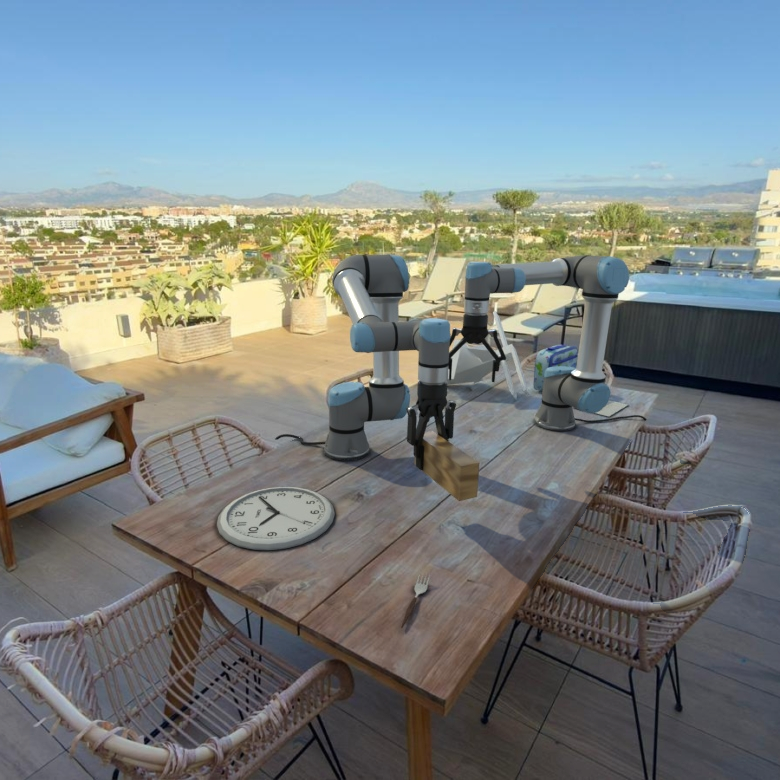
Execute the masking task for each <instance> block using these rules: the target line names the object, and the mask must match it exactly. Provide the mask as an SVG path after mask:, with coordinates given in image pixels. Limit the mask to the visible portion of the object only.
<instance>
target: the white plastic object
mask: <svg viewBox="0 0 780 780" xmlns="http://www.w3.org/2000/svg"><path fill="white" fill-rule="evenodd" d="M492 315H493V319H494V321H495V324H496V325H495V326H496V328H497V332H498V335H499V338H500V342H501V346H502V349H503V352H504V354H505V356H506V360H502V361H500V365H499V367H500V366H502V370H503V373H504V376H505V380H506V383H507V386H508V390H509V393H510V394H511V395H512V397H513V398H514V399H515V400H517V392H516V391H517V390H516V388H515V385H514V381H513V378H512V375H511V371H510V369H509V365H508V361H510V360H513V363H514V366H515V369H516V372H517V376H518V380H519V382H520V385H521V389H522V391H523V393H524V395H525V396H526V397H528V396H531V395H530V390H529V388H528V387H529V386H528V384H527V381H526V378H525V375H524V371H523V369H522V368H523V367H522V366H521V362H520V359H519V355H518V352H517V349H516V347H515V346H514V345H513V343H511V344H508V341H507V337H506V334H505V331H504V328H503V325H502V321H501V318H500V315H499V314H498V312H497V311H496V310H495V311H492ZM461 339H462V338H460V339H458V338H455V339H454V341H453V343H452V349H453V348H454V347H455V346H456V345H457V344H458V343H459V342H460V341H461ZM452 349H451V350H452ZM493 350H494V351H495V353H496V354H497V355H498V356H501V355H500V353H499V350H498V349H496V350H495V349H493ZM451 358H452V374H451V380H449V369H448V380H447V381H446V382H447V384H448V386H449V385H458V384H467V383H468V384H469V383H473V384H477V383H480V382H482V381H484V378H485V377H486V376H487V375H489V374H490V373H492V368H493V360H495V359H494V357H493V356H492V355H491V353H490V352H489V351H488V350H487V348H486V347H485V346H484V345H483V344H477V345H473V346H469V344H468V343H467V342H466V343H465V344H464V345H463V346H462V347H461V348H460V349H459V350H458V351H457V352H456V353H455V354H454V355H453V356H452V357H451Z"/></svg>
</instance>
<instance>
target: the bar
mask: <svg viewBox="0 0 780 780" xmlns="http://www.w3.org/2000/svg"><path fill="white" fill-rule="evenodd" d="M422 445H423V446H424V461H423V470H421V471H422V472H423V473H424V474H425V475H427V476H428V477H429V478H430V479H431V480H432V481H434V482H435V483H436V484H437V485H438V486H440V487H441V488H442V489H443V490H445V491H446V492H447V493H448V494H449V495H451V496H452V497H453V498H455V499H456V500H457V502H462V501H467V500H470V499H474V498H478V491H479V479H480V478H479V477H480V461H478V460H477V459H475V458H474V457H472V456H471V455H470V454H468V453H466V452H465V451H463V450H462V449H461V448H458V446H456V445H454V444H453V443H452V442H450V441H447V440H445V439H444V438H442V437H441V436H439V435H438V433H437V432H435V431H433V430H429V431H425V434H424V437H423V441H422ZM414 466H416V457H415V456H414Z"/></svg>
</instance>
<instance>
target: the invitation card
mask: <svg viewBox="0 0 780 780" xmlns="http://www.w3.org/2000/svg"><path fill="white" fill-rule="evenodd" d="M628 406H629V404H627V403H623V402H618V401H614V400H610V399H609V401H608V403H607V404H606V406H605V407H603V408H602V410H600V411H598V412H596V413H595V414H596V415H600V416H604V417H608V418H609V417H611V416H613V415H614V414H616V413H617V412H619V411H621V410H623V409H624V408H626V407H628Z"/></svg>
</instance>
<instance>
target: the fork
mask: <svg viewBox="0 0 780 780" xmlns="http://www.w3.org/2000/svg"><path fill="white" fill-rule="evenodd" d="M421 572H422V571H421V570H420V571H419V574H418V577H417V580H416V583H415V585H414V592H415V596H413V597H414V598H413V599H412V600H411V601H410V603H409V605H408V607H407V608H406V611H405V614H404V618H403V620H402V624H401V625H400V628H401V629H403V628H404V627H405V625H406V623H407V621H408V620H409V617H410V616H411V615H412V613H413V611H414V609H415V606H416V603H417V599H418V597H419V596H420V595H423V594H425V593H426V592H427V590H428V587H429V582H430V577H431V574H429V575H428V572H426V573H425V571H423V573H422V575H421ZM424 574H425V577H424ZM427 576H428V578H427ZM423 579H424V580H423ZM426 580H427V581H426Z"/></svg>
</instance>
